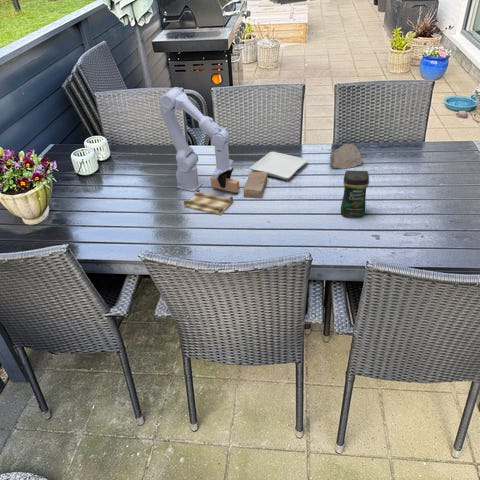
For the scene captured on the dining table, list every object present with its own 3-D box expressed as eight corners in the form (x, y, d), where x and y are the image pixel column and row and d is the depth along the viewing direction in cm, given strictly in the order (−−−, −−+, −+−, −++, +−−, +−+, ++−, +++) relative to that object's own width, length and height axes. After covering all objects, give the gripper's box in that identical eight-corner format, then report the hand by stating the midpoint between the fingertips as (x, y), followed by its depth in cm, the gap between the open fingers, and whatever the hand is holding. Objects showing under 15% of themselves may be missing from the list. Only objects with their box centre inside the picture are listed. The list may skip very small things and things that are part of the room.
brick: (261, 199, 194) (261, 189, 192) (243, 198, 196) (242, 188, 193) (268, 180, 207) (267, 171, 205) (250, 180, 209) (249, 171, 206)
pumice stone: (331, 170, 211) (332, 150, 205) (328, 163, 217) (329, 143, 211) (363, 168, 211) (365, 148, 205) (359, 160, 217) (361, 141, 211)
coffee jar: (340, 218, 178) (344, 176, 167) (340, 207, 184) (343, 167, 173) (366, 219, 176) (371, 177, 165) (364, 208, 183) (369, 167, 172)
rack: (184, 207, 193) (183, 201, 191) (198, 194, 200) (197, 189, 199) (220, 215, 185) (220, 209, 183) (233, 202, 193) (232, 196, 191)
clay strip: (211, 186, 202) (210, 178, 200) (214, 183, 205) (214, 174, 202) (236, 192, 197) (235, 183, 194) (239, 189, 199) (239, 180, 196)
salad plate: (309, 165, 218) (309, 158, 216) (288, 184, 204) (288, 177, 202) (271, 156, 228) (270, 150, 225) (249, 174, 213) (248, 168, 211)
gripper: (222, 166, 185) (224, 194, 193) (238, 151, 195) (240, 179, 203) (207, 163, 188) (210, 191, 196) (224, 149, 198) (226, 176, 206)
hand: (225, 185), depth 200 cm, fingers closed on clay strip, 3 cm apart
